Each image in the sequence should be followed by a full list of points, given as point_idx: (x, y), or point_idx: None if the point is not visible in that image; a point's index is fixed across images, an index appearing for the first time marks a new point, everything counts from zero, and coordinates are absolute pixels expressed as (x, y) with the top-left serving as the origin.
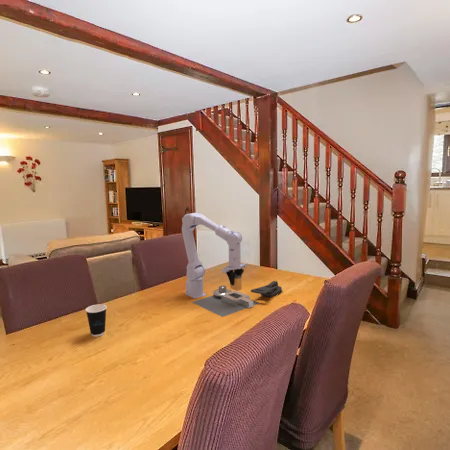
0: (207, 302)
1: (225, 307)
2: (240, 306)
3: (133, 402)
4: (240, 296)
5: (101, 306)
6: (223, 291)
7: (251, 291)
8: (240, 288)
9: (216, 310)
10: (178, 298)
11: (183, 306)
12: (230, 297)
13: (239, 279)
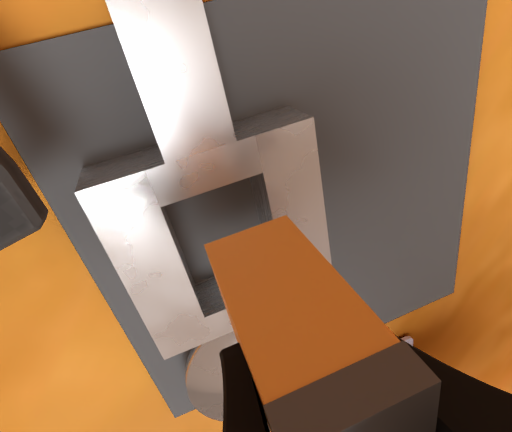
0: (397, 261)
1: (359, 125)
2: (238, 81)
3: None
4: (174, 238)
5: None
6: None
7: (38, 197)
8: (228, 248)
9: (441, 100)
10: (454, 354)
11: (504, 255)
12: (300, 217)
13: (314, 351)
